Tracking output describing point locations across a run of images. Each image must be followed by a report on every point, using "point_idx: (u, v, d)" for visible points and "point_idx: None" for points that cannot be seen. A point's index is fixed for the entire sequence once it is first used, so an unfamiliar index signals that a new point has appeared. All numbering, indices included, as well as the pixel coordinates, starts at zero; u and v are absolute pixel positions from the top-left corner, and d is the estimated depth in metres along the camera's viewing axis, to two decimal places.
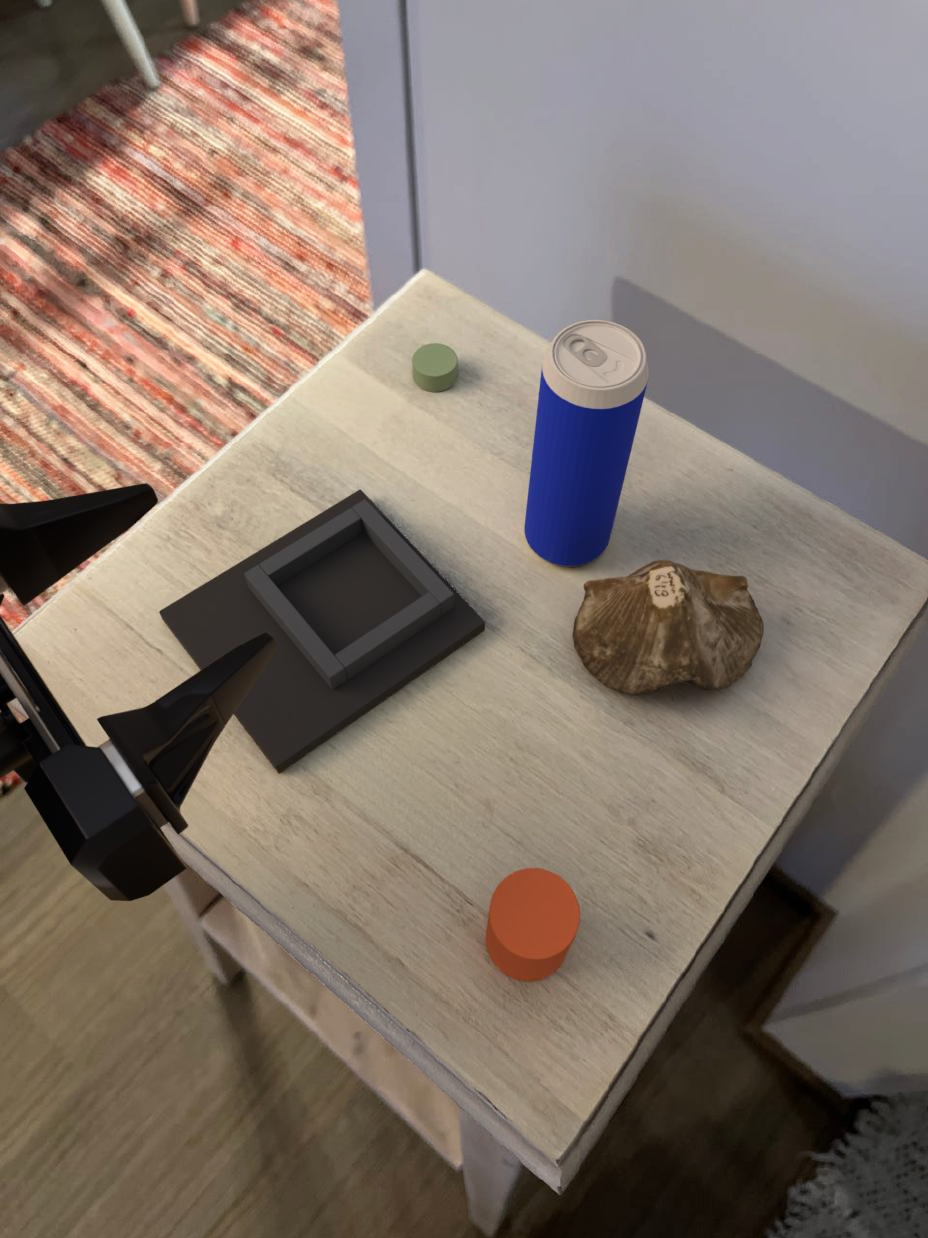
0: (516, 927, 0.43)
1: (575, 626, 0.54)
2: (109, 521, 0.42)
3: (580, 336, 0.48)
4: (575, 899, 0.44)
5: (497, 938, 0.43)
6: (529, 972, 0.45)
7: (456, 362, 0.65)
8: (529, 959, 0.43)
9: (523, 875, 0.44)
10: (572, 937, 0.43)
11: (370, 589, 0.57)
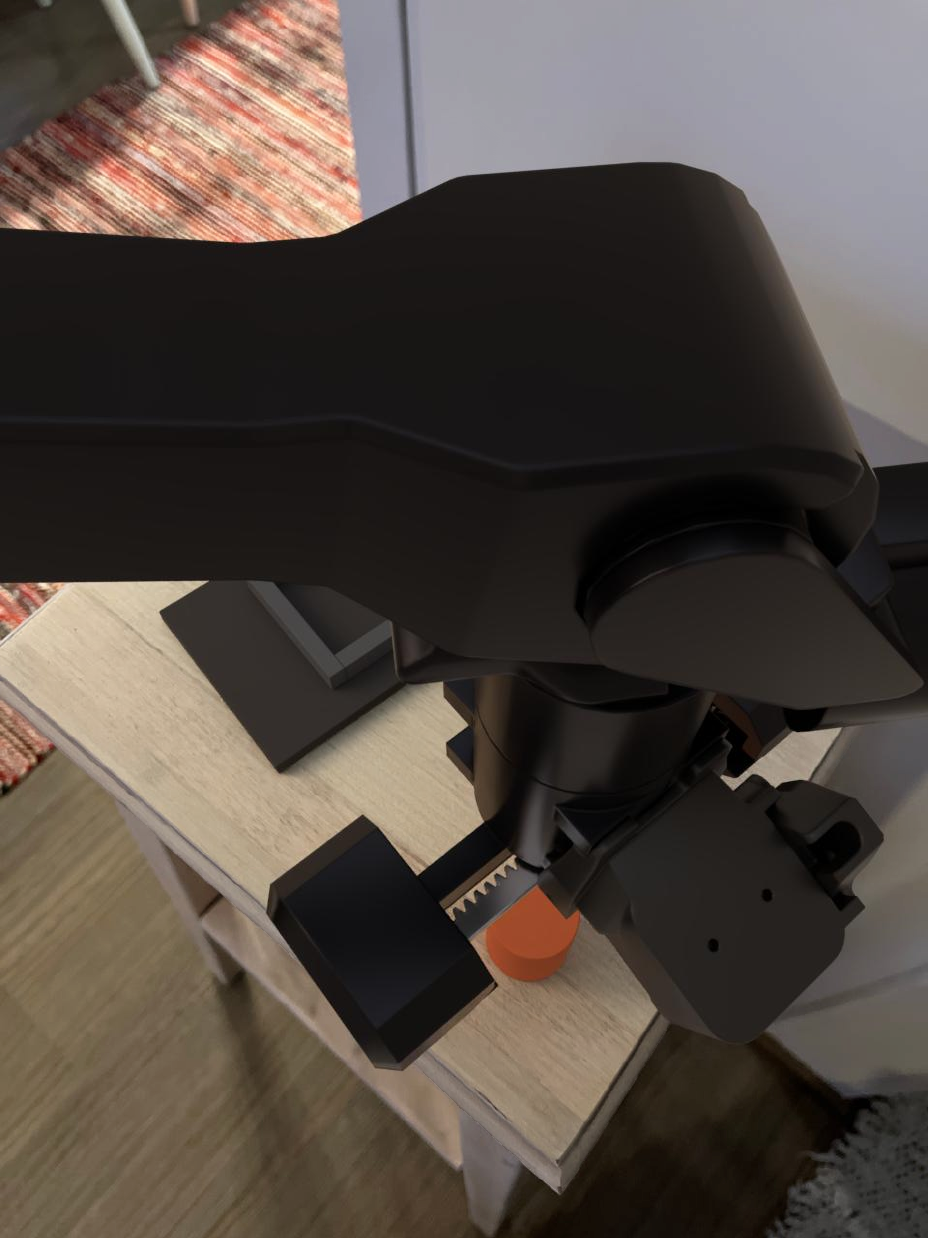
0: (516, 927, 0.43)
1: None
2: None
3: None
4: None
5: (497, 938, 0.43)
6: (529, 972, 0.45)
7: None
8: (529, 959, 0.43)
9: None
10: (572, 937, 0.43)
11: None
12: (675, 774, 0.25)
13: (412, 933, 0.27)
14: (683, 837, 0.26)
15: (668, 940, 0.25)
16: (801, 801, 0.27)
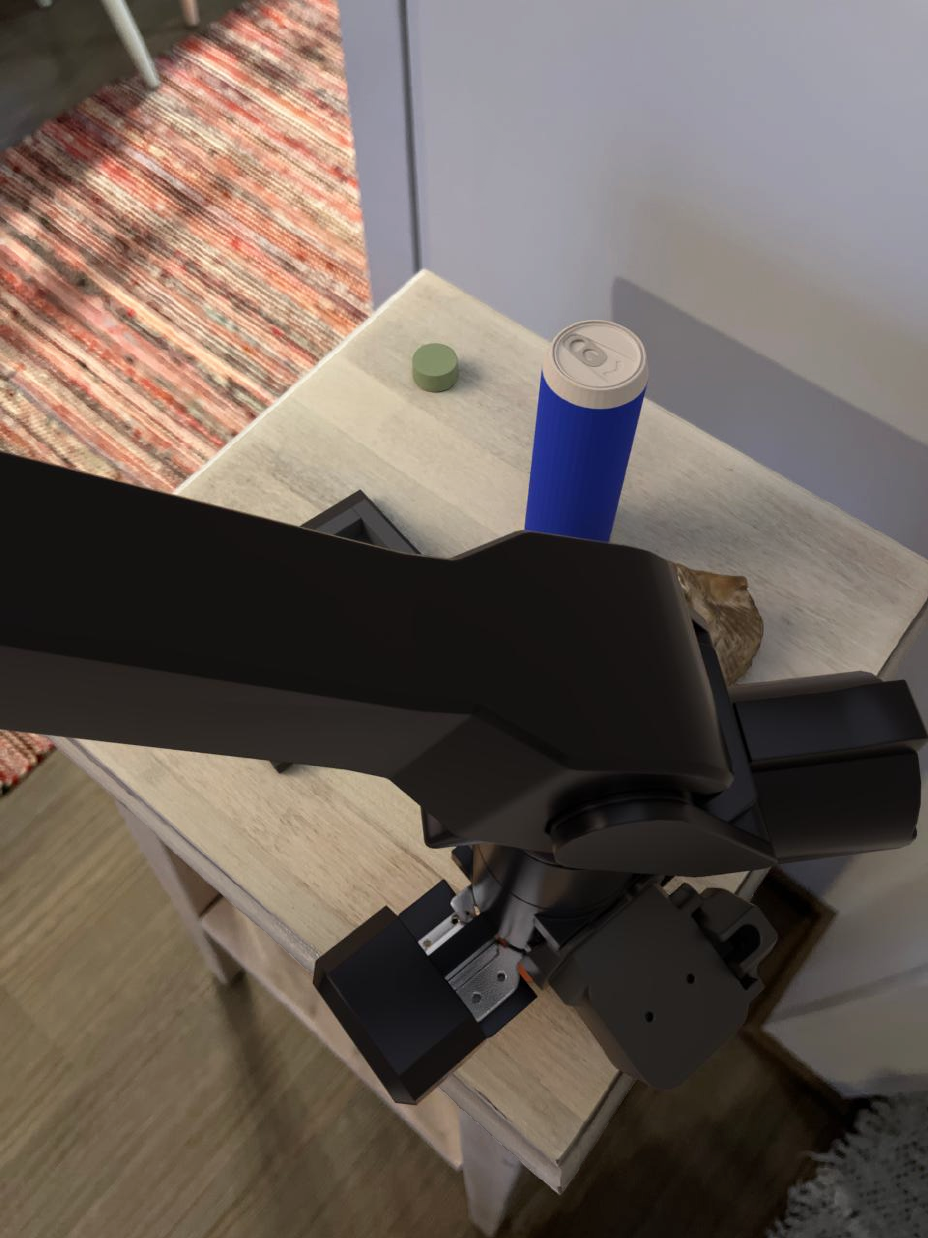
0: None
1: None
2: None
3: (580, 336, 0.48)
4: None
5: None
6: None
7: (456, 362, 0.65)
8: None
9: None
10: None
11: None
12: (622, 891, 0.33)
13: (425, 1002, 0.36)
14: (629, 935, 0.34)
15: (616, 1013, 0.34)
16: (718, 906, 0.35)
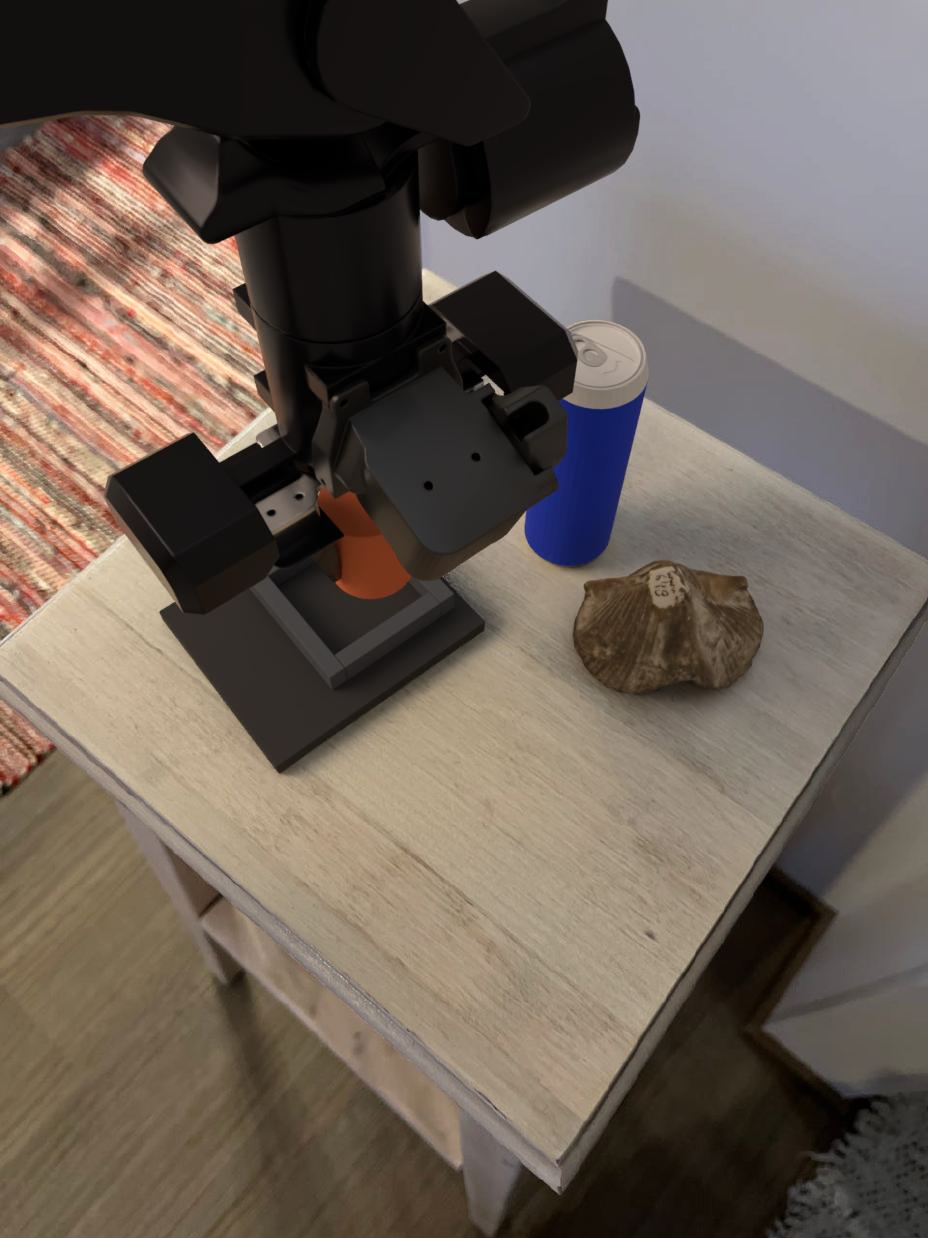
0: (344, 510, 0.42)
1: (575, 626, 0.54)
2: None
3: (580, 336, 0.48)
4: None
5: None
6: (363, 573, 0.44)
7: None
8: (354, 538, 0.42)
9: None
10: None
11: None
12: (399, 348, 0.32)
13: (210, 498, 0.35)
14: (412, 409, 0.33)
15: (392, 477, 0.33)
16: (511, 395, 0.34)
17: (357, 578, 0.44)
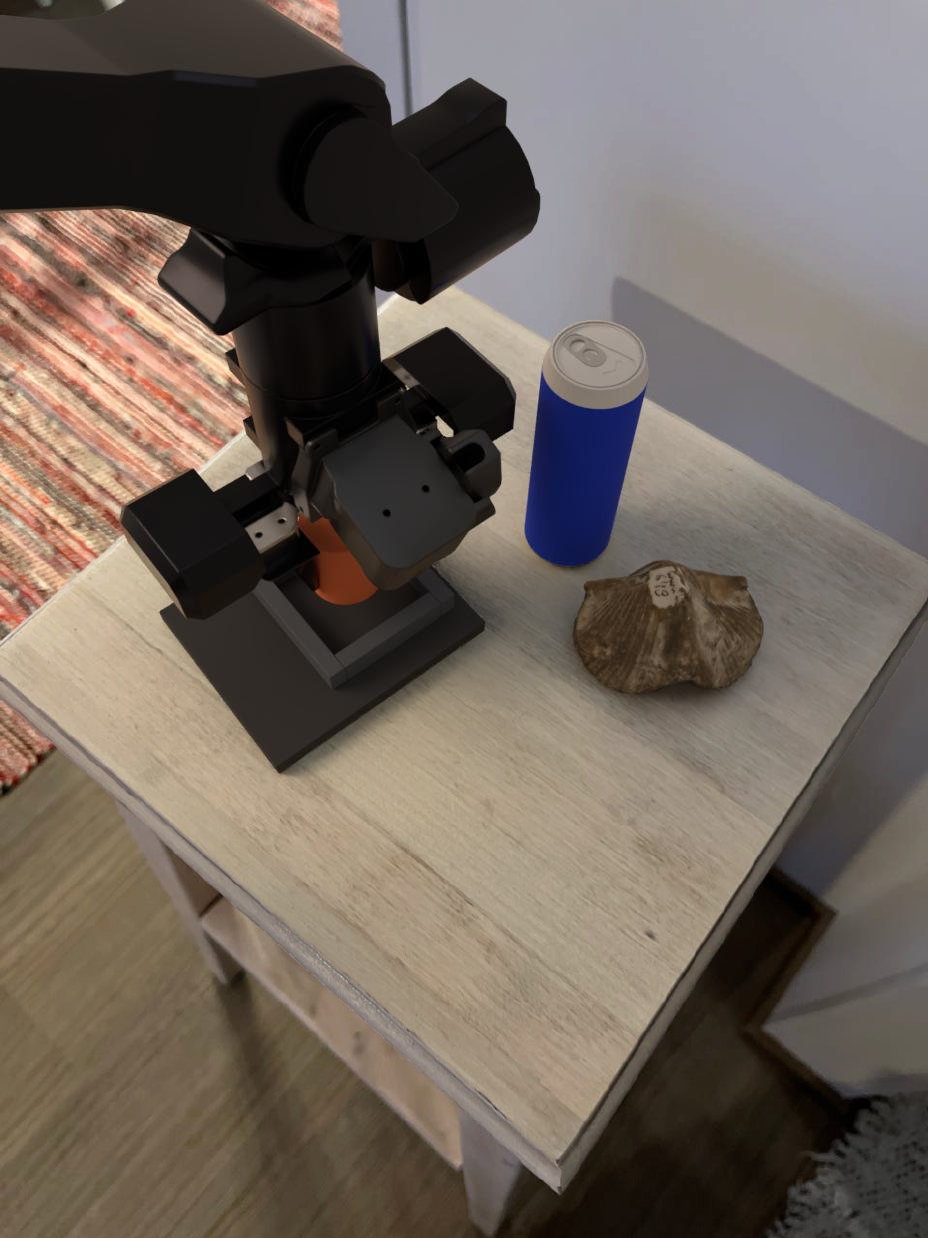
0: (320, 529, 0.50)
1: (575, 626, 0.54)
2: None
3: (580, 336, 0.48)
4: None
5: None
6: (338, 583, 0.51)
7: None
8: (329, 553, 0.49)
9: None
10: None
11: None
12: (361, 402, 0.40)
13: (208, 523, 0.42)
14: (373, 450, 0.41)
15: (357, 506, 0.40)
16: (455, 437, 0.42)
17: (333, 587, 0.52)
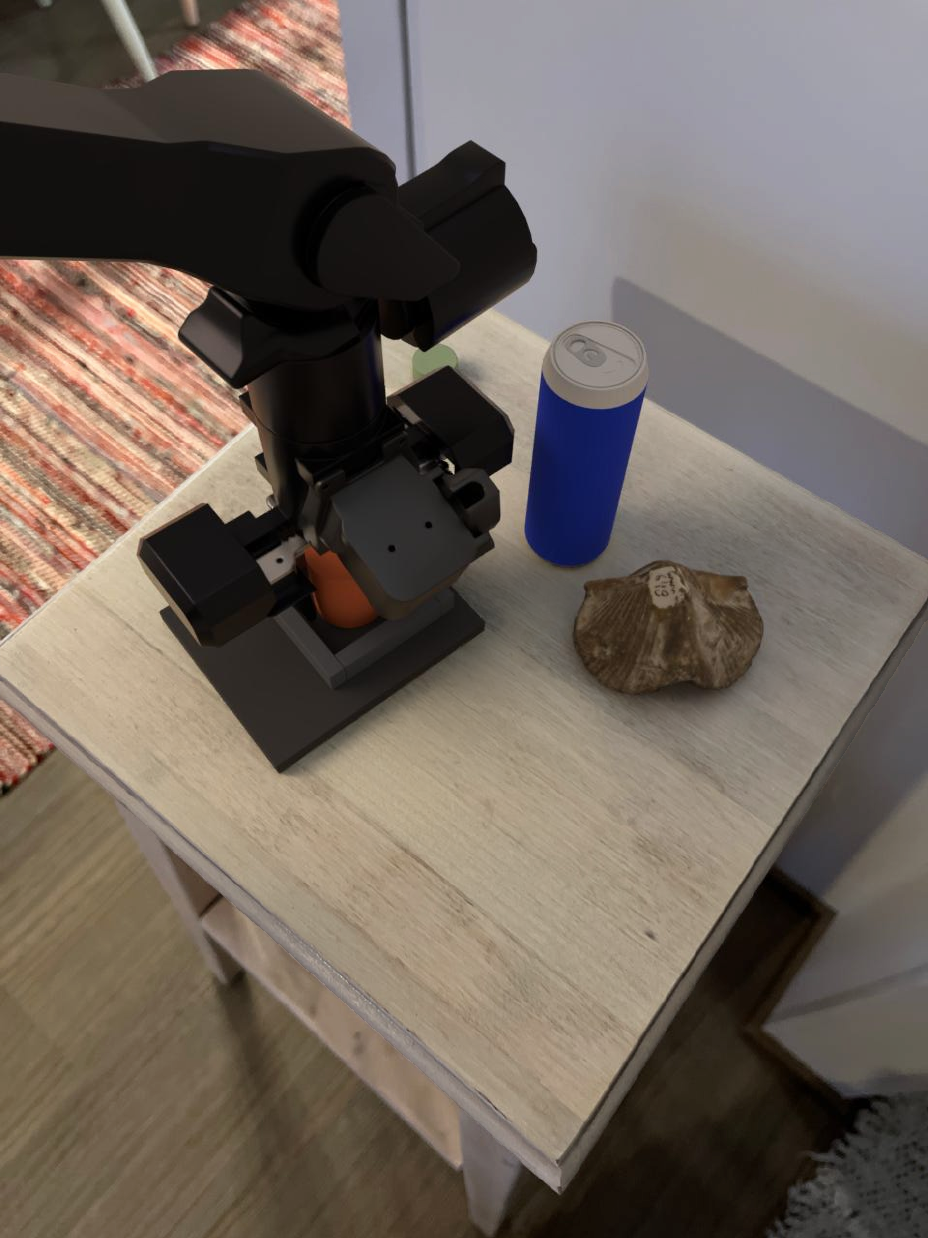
0: (326, 558, 0.52)
1: (575, 626, 0.54)
2: None
3: (580, 336, 0.48)
4: None
5: (309, 566, 0.52)
6: (343, 608, 0.53)
7: (456, 362, 0.65)
8: (334, 581, 0.51)
9: None
10: None
11: None
12: (368, 444, 0.42)
13: (222, 557, 0.44)
14: (378, 489, 0.43)
15: (363, 543, 0.42)
16: (456, 476, 0.44)
17: (338, 612, 0.54)
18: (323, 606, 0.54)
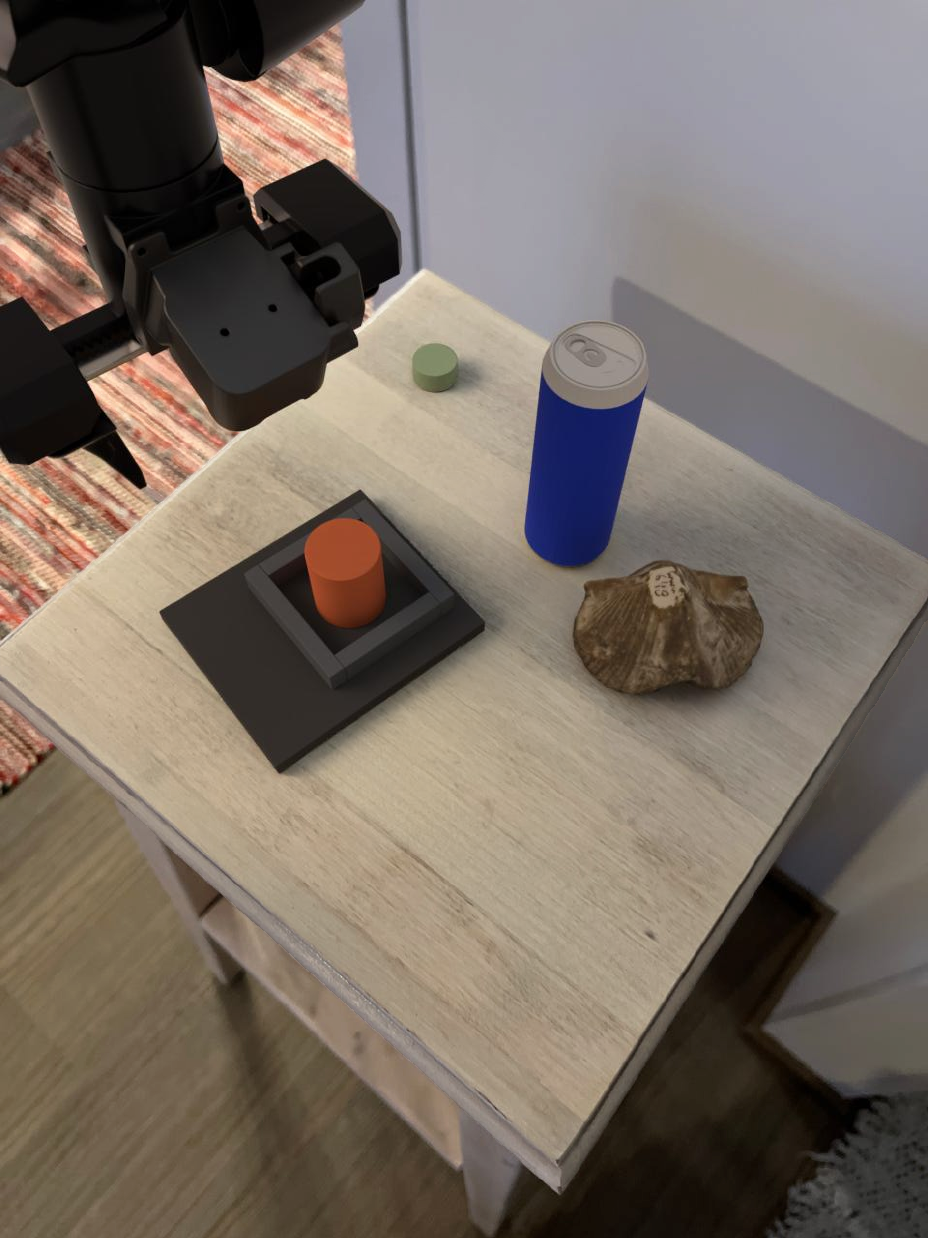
0: (326, 558, 0.52)
1: (575, 626, 0.54)
2: None
3: (580, 336, 0.48)
4: (378, 539, 0.52)
5: (309, 566, 0.52)
6: (343, 608, 0.53)
7: (456, 362, 0.65)
8: (334, 581, 0.51)
9: (336, 522, 0.53)
10: (372, 565, 0.52)
11: None
12: (195, 202, 0.35)
13: (31, 352, 0.37)
14: (212, 263, 0.36)
15: (189, 323, 0.35)
16: None
17: (338, 612, 0.54)
18: (323, 606, 0.54)
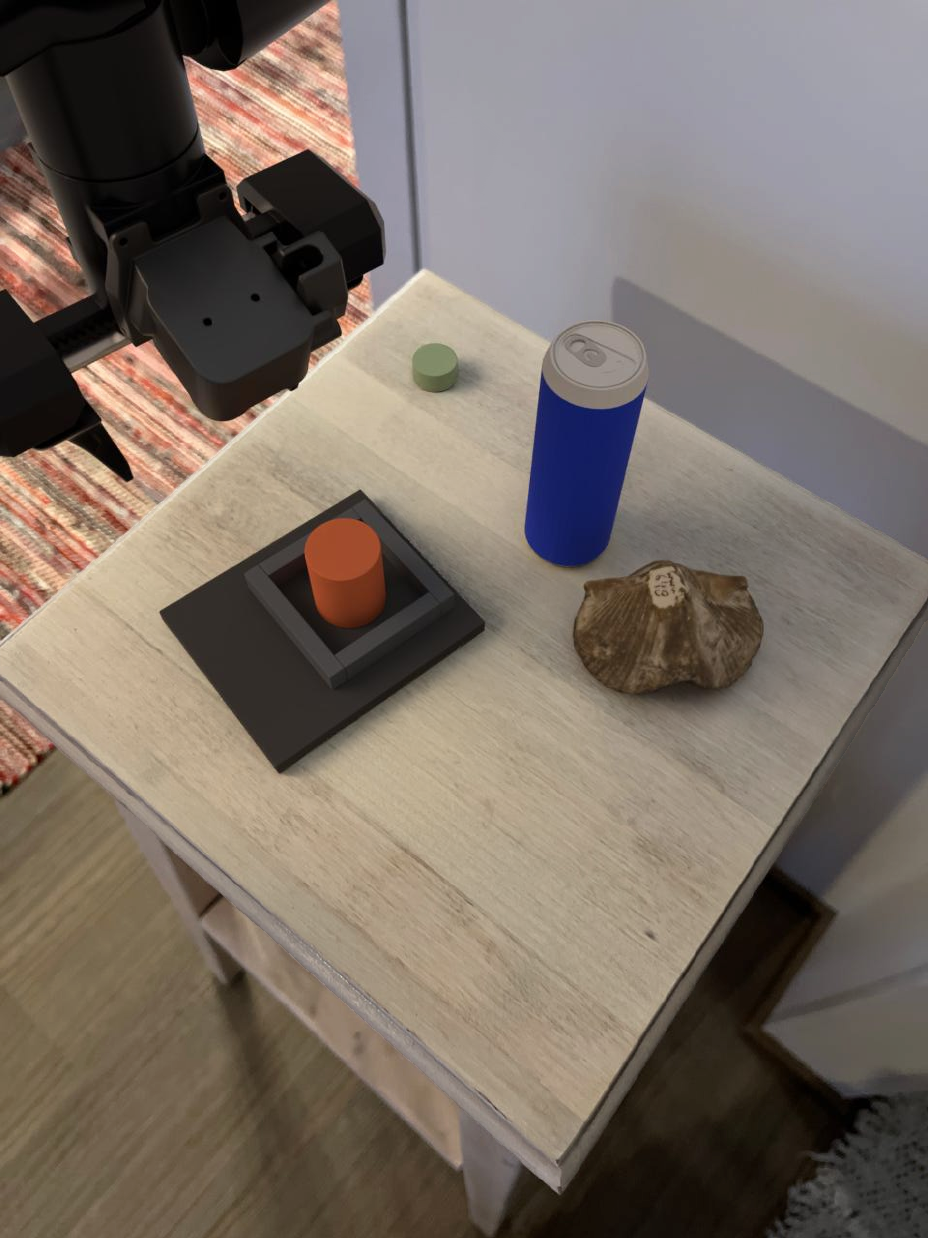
0: (326, 558, 0.52)
1: (575, 626, 0.54)
2: None
3: (580, 336, 0.48)
4: (378, 539, 0.52)
5: (309, 566, 0.52)
6: (343, 608, 0.53)
7: (456, 362, 0.65)
8: (334, 581, 0.51)
9: (336, 522, 0.53)
10: (372, 565, 0.52)
11: None
12: (176, 192, 0.35)
13: (14, 344, 0.37)
14: (194, 253, 0.36)
15: (172, 313, 0.35)
16: None
17: (338, 612, 0.54)
18: (323, 606, 0.54)
